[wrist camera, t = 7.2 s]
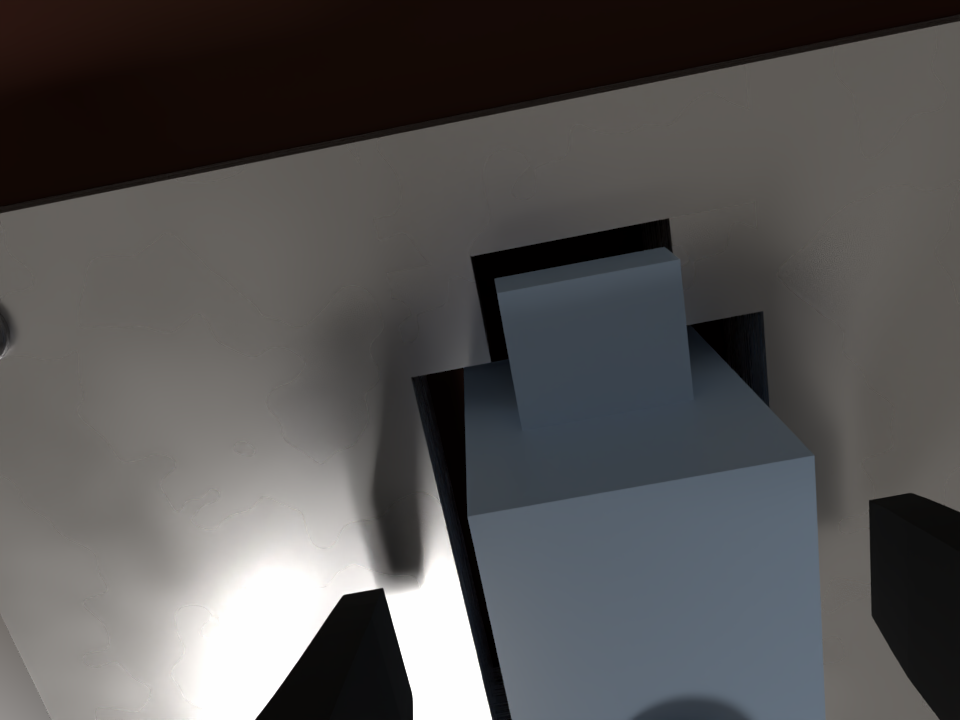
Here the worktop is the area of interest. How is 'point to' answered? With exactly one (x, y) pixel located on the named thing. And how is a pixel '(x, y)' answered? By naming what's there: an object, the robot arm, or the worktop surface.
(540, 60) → the worktop surface
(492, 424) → the servo
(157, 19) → the worktop surface
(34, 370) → the plate
